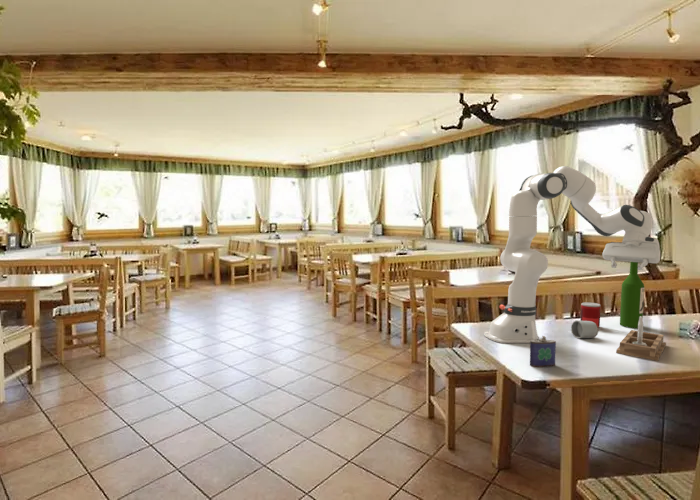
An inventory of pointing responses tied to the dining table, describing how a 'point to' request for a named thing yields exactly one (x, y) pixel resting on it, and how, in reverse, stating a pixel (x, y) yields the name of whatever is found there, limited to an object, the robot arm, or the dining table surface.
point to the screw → (640, 333)
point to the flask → (542, 352)
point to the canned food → (590, 312)
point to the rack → (649, 351)
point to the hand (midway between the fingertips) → (626, 267)
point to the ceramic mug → (584, 329)
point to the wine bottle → (632, 298)
